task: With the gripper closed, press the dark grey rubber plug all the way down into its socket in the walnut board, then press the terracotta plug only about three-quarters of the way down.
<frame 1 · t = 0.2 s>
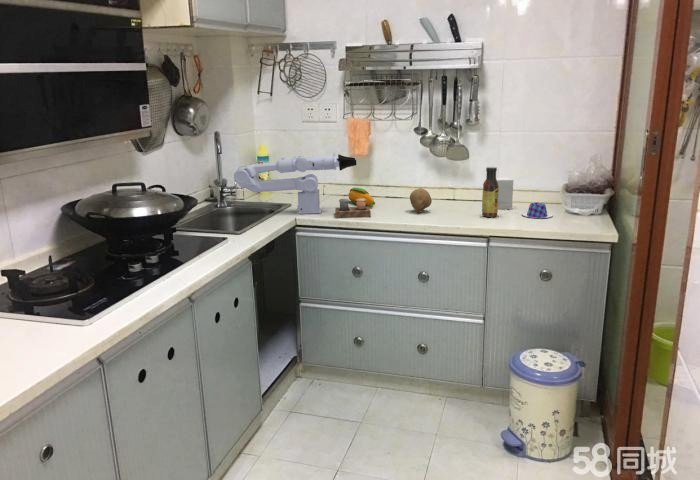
hand: (355, 161, 248), 21 cm above the worktop, tool horizontal, fingers open, 7 cm apart
terracotta plug: (360, 204, 244), point 5 cm above the worktop, slide at 0.0 cm
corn: (362, 205, 265), on the worktop
sauce bottle: (489, 216, 240), on the worktop
grey plug: (344, 204, 244), point 5 cm above the worktop, slide at 0.0 cm
supplement box: (501, 208, 255), on the worktop
socket board: (352, 215, 245), on the worktop
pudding: (536, 216, 239), on the worktop
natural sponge: (420, 212, 249), on the worktop
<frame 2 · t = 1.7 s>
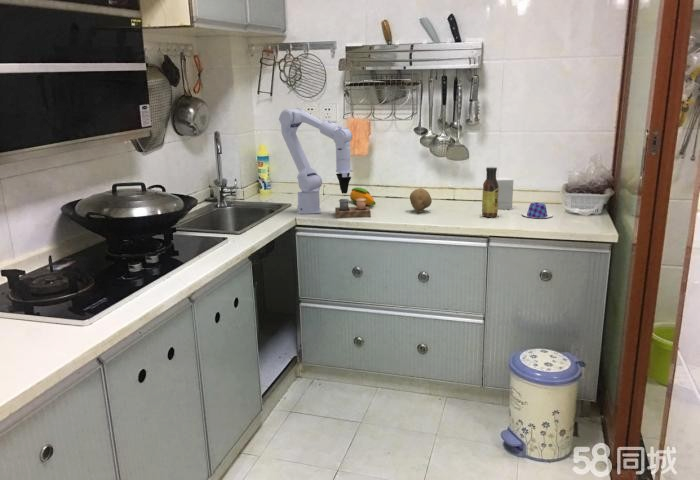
hand: (343, 191, 242), 10 cm above the worktop, tool pointing down, fingers open, 6 cm apart
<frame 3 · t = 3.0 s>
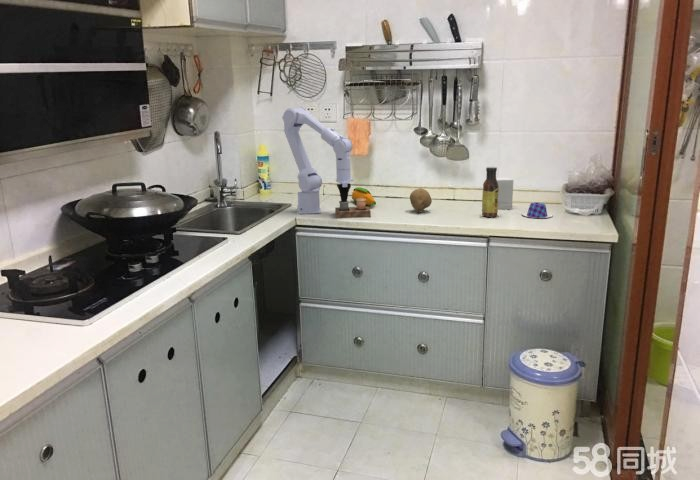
hand: (344, 201, 244), 6 cm above the worktop, tool pointing down, fingers closed, pressing on grey plug
grey plug: (344, 206, 244), point 4 cm above the worktop, slide at 0.7 cm, touching gripper
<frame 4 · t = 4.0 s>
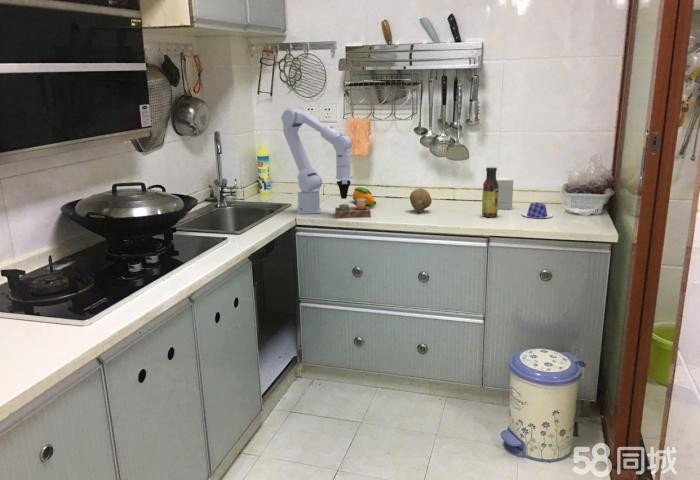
hand: (343, 198, 243), 7 cm above the worktop, tool pointing down, fingers closed
grey plug: (344, 210, 244), point 2 cm above the worktop, slide at 2.3 cm
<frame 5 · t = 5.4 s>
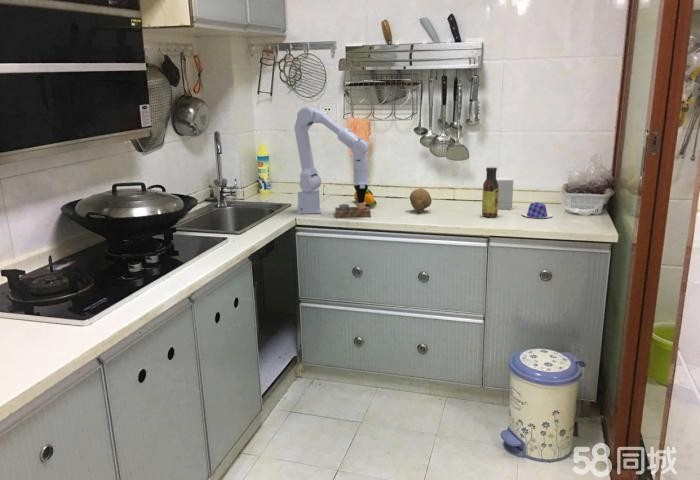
hand: (361, 202, 244), 5 cm above the worktop, tool pointing down, fingers closed, pressing on terracotta plug
terracotta plug: (361, 207, 245), point 3 cm above the worktop, slide at 1.4 cm, touching gripper
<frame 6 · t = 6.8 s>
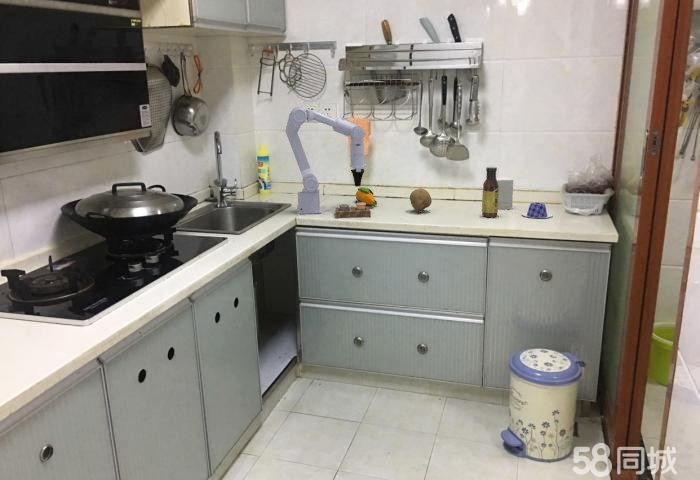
hand: (357, 186, 253), 10 cm above the worktop, tool pointing down, fingers closed
terracotta plug: (361, 208, 245), point 3 cm above the worktop, slide at 1.7 cm
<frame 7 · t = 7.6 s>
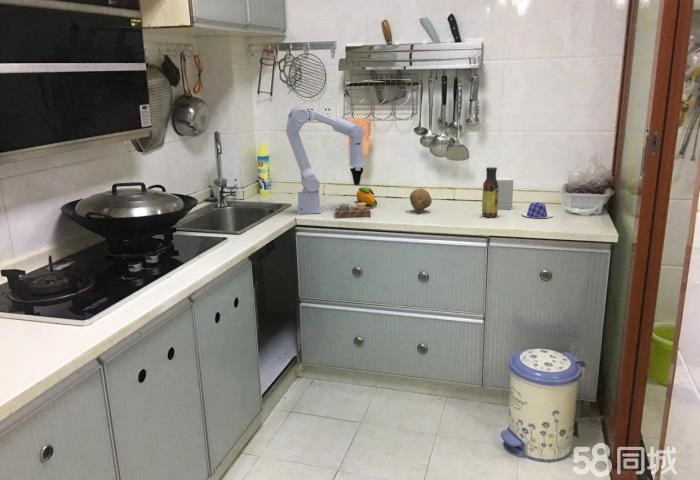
hand: (356, 184, 255), 10 cm above the worktop, tool pointing down, fingers closed
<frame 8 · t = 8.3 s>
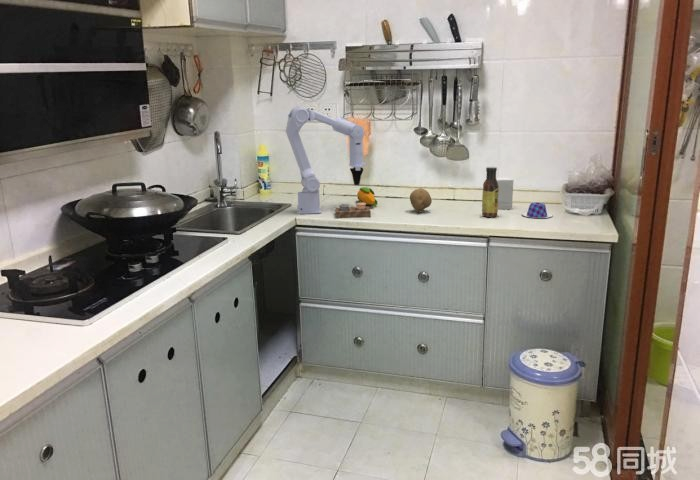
hand: (356, 184, 255), 10 cm above the worktop, tool pointing down, fingers closed
at the end: grey plug slide at 2.3 cm; terracotta plug slide at 1.7 cm; terracotta plug touching nothing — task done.
